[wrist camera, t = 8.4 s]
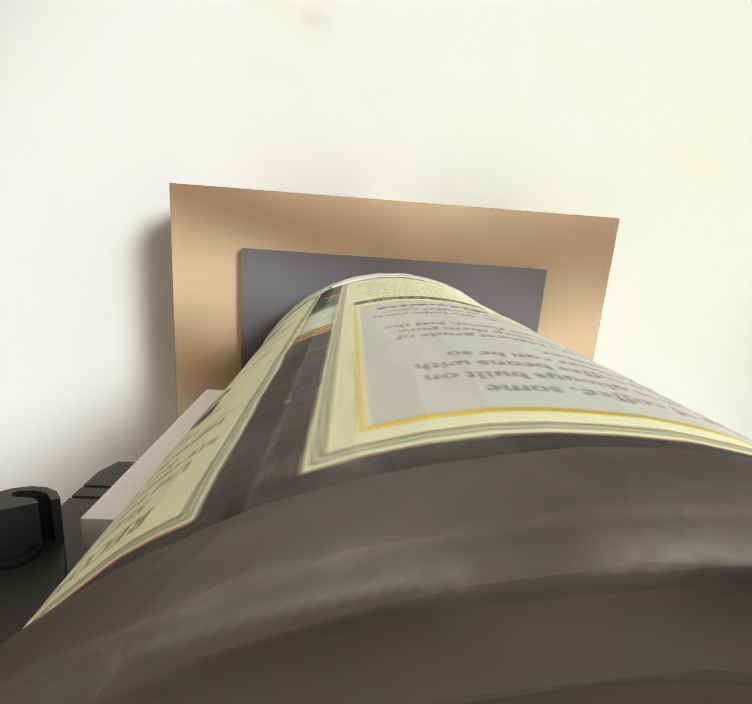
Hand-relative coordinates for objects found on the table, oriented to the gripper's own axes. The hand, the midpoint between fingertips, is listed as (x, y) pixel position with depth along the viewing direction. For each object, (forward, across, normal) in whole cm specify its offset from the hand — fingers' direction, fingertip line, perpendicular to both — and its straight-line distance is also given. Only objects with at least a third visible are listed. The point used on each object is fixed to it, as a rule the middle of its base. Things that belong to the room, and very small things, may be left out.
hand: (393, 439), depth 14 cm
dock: (+7, 0, 0) cm, 7 cm away
